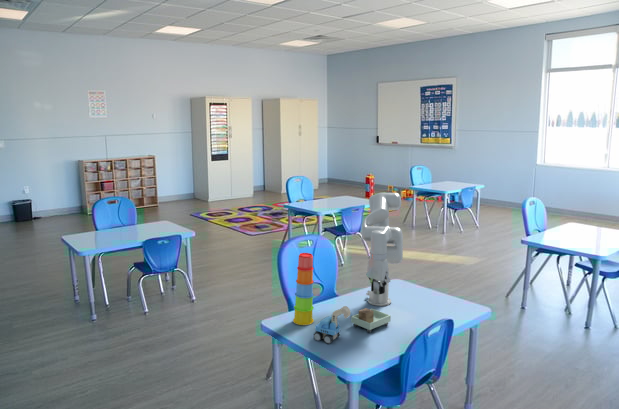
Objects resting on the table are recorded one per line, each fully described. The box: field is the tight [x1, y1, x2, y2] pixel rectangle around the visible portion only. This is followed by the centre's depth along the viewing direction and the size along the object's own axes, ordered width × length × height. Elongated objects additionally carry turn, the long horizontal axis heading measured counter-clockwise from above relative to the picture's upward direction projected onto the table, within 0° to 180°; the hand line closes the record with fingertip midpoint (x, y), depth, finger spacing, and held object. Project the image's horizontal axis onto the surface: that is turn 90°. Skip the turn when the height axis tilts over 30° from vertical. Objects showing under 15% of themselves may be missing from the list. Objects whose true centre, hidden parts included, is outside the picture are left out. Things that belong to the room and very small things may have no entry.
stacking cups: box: [292, 252, 315, 326], centre depth 246 cm, size 10×10×35 cm
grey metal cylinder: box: [373, 280, 383, 295], centre depth 241 cm, size 4×4×6 cm
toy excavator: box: [313, 305, 351, 345], centre depth 226 cm, size 9×17×17 cm, turn 58°
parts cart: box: [350, 308, 392, 334], centre depth 242 cm, size 12×15×5 cm
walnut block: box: [358, 307, 374, 323], centre depth 240 cm, size 5×5×6 cm
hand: (377, 291), depth 242 cm, fingers closed on grey metal cylinder, 4 cm apart
